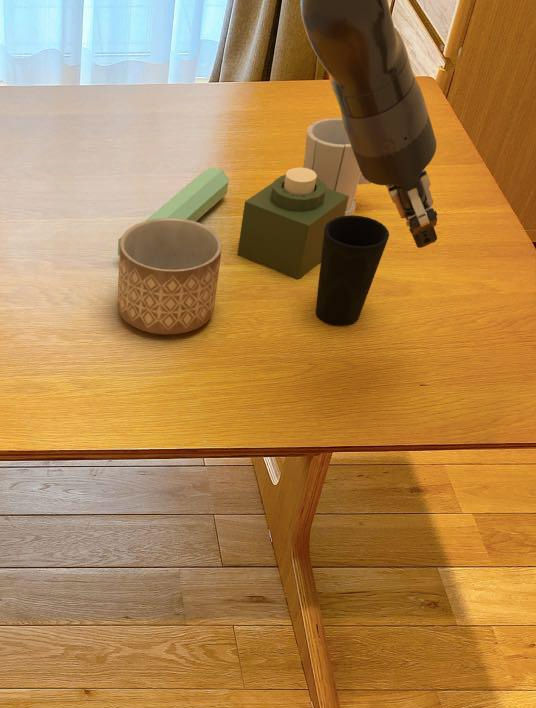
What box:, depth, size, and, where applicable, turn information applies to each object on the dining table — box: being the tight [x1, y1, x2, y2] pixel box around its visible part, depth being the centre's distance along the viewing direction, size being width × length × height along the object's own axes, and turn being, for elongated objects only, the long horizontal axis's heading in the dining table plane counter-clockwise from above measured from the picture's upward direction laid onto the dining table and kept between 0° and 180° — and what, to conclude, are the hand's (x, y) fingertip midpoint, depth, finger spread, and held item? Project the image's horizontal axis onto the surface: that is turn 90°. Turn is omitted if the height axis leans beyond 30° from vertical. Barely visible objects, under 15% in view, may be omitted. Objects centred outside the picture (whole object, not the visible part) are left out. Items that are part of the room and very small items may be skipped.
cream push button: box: [284, 167, 317, 195], centre depth 136 cm, size 4×4×2 cm
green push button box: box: [237, 173, 349, 280], centre depth 140 cm, size 10×10×10 cm
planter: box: [116, 218, 223, 335], centre depth 131 cm, size 13×13×10 cm
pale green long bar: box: [117, 167, 230, 257], centre depth 148 cm, size 6×6×25 cm
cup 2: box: [314, 215, 390, 327], centre depth 129 cm, size 8×8×12 cm
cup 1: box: [302, 117, 372, 216], centre depth 147 cm, size 10×9×12 cm
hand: (425, 240), depth 114 cm, fingers closed
